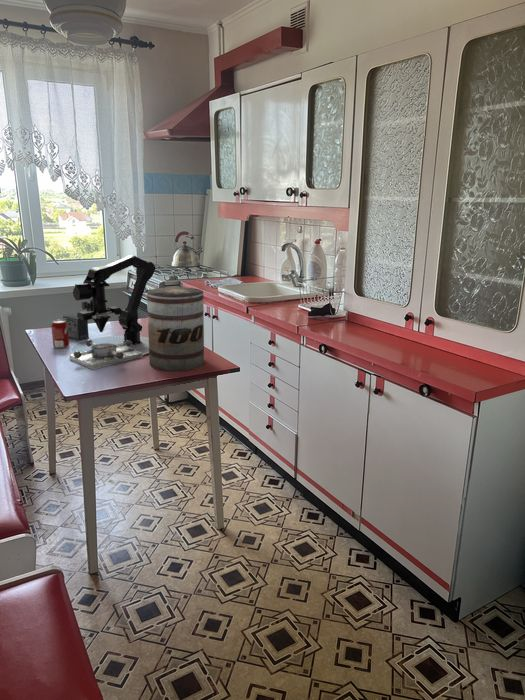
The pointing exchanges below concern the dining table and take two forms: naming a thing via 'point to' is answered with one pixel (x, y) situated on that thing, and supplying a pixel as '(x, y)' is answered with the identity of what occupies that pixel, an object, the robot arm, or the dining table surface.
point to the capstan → (103, 349)
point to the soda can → (60, 334)
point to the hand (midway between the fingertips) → (101, 332)
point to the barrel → (175, 328)
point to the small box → (76, 327)
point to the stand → (107, 358)
